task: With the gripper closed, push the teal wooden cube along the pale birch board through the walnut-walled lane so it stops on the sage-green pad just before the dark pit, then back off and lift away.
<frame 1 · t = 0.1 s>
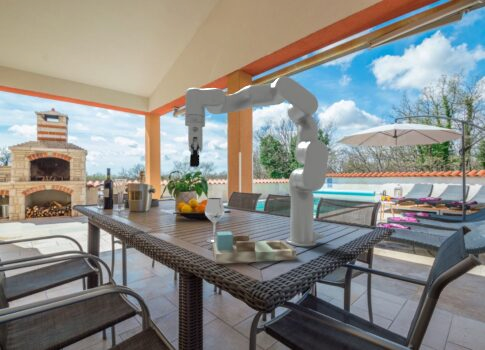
hand: (194, 166, 94), 31 cm above the table, tool pointing down, fingers open, 9 cm apart
wineglass: (214, 241, 104), on the table
route board: (252, 255, 86), on the table
teal cube: (224, 247, 84), point 3 cm above the table, touching route board
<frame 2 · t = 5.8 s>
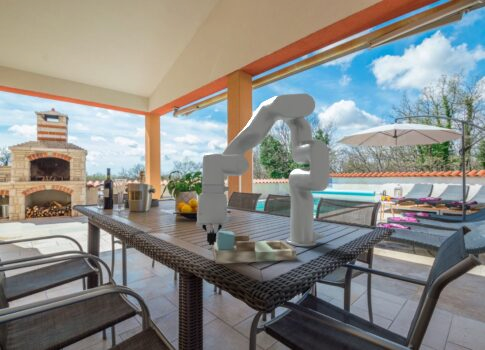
hand: (211, 244, 83), 5 cm above the table, tool pointing down, fingers closed
teal cube: (224, 247, 84), point 3 cm above the table, tilted 6°, touching gripper, route board
everything else where it was.
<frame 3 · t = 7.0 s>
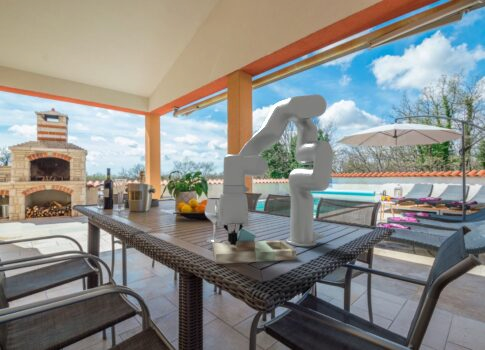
hand: (232, 243, 85), 4 cm above the table, tool pointing down, fingers closed
teal cube: (243, 244, 85), point 4 cm above the table, tilted 20°, touching gripper
everything else where it was.
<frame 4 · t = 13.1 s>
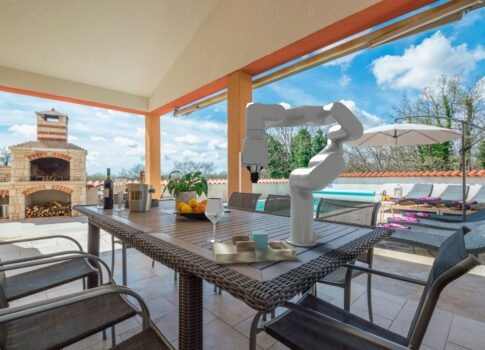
hand: (254, 183, 95), 25 cm above the table, tool pointing down, fingers closed
teal cube: (259, 246, 86), point 3 cm above the table, touching route board
everything else where it was.
at the end: teal cube 0.8 cm from the target spot, point 3.0 cm above the table; teal cube tilted 0°; teal cube moved 12.2 cm from its start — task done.
